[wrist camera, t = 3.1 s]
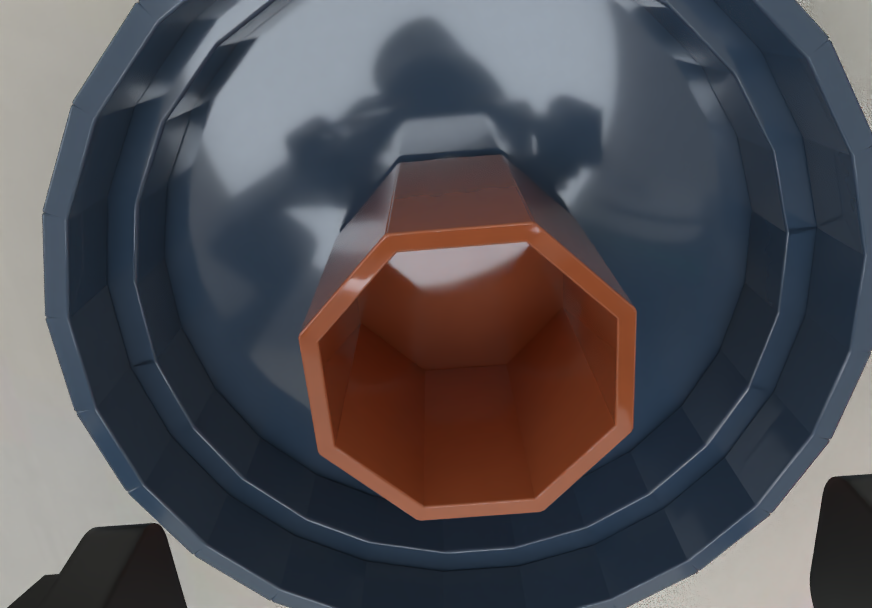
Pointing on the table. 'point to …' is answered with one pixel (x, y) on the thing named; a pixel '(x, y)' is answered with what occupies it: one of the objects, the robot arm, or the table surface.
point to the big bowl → (435, 139)
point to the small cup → (467, 344)
